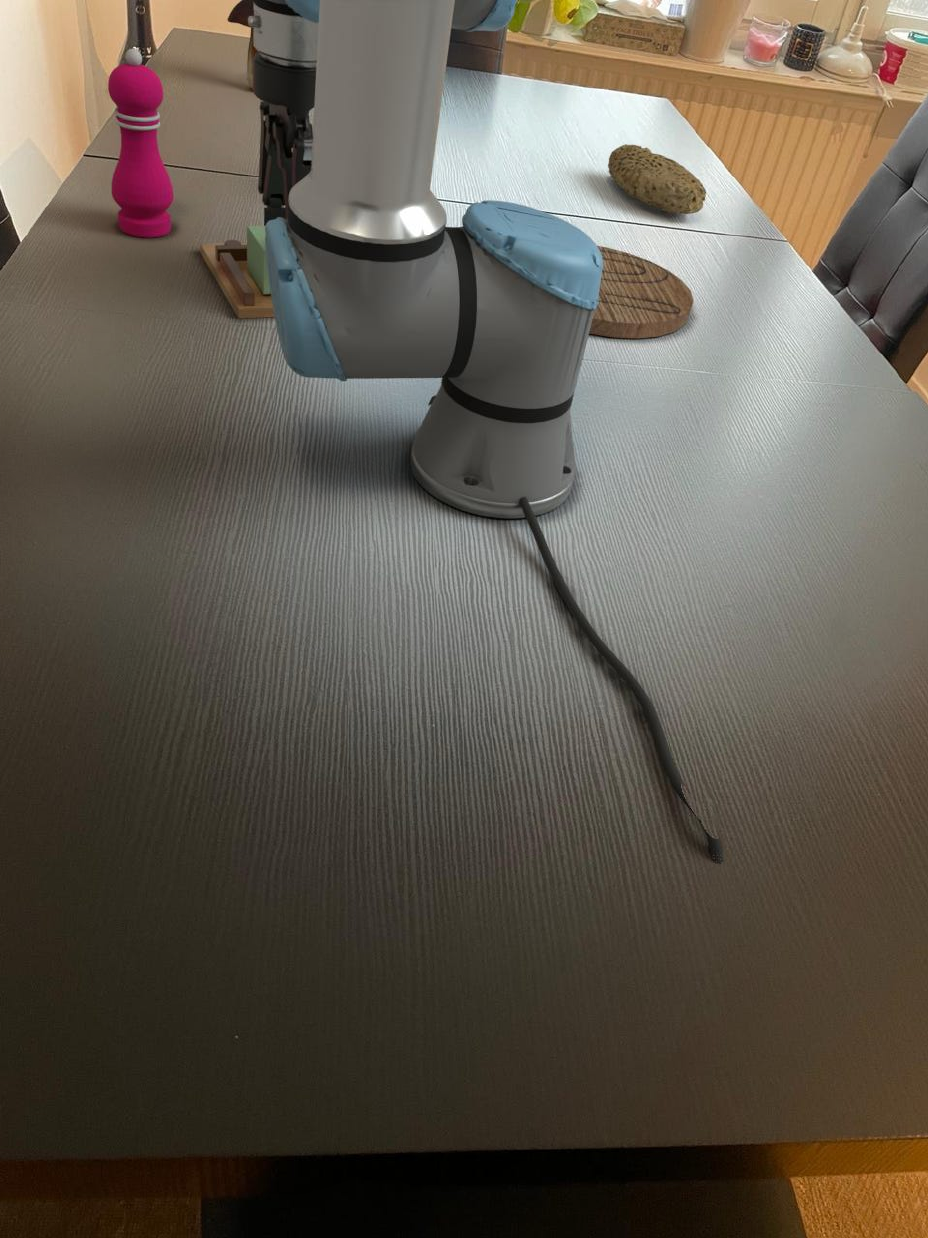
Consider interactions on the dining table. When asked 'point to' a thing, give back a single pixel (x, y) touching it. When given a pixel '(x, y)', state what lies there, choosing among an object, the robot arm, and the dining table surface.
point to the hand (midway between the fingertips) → (284, 277)
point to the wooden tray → (236, 279)
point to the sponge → (656, 180)
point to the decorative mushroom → (241, 17)
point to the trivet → (638, 298)
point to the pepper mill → (139, 151)
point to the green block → (257, 257)
